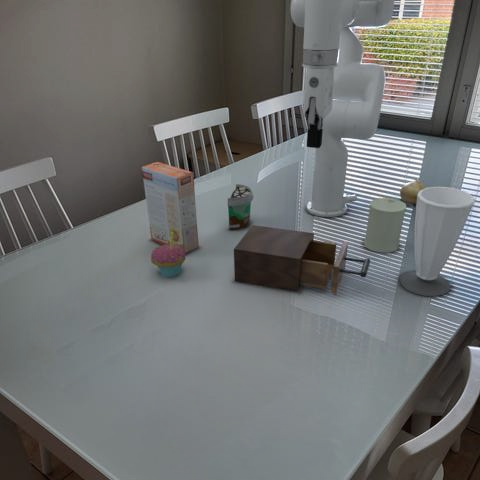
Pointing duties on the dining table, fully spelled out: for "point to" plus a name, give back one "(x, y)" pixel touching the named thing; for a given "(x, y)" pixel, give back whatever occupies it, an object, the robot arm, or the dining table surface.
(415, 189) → the onion
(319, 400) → the dining table surface
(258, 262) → the cabinet
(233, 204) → the food container
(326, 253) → the drawer
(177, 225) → the cracker box
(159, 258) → the cupcake
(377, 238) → the can
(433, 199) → the cup
